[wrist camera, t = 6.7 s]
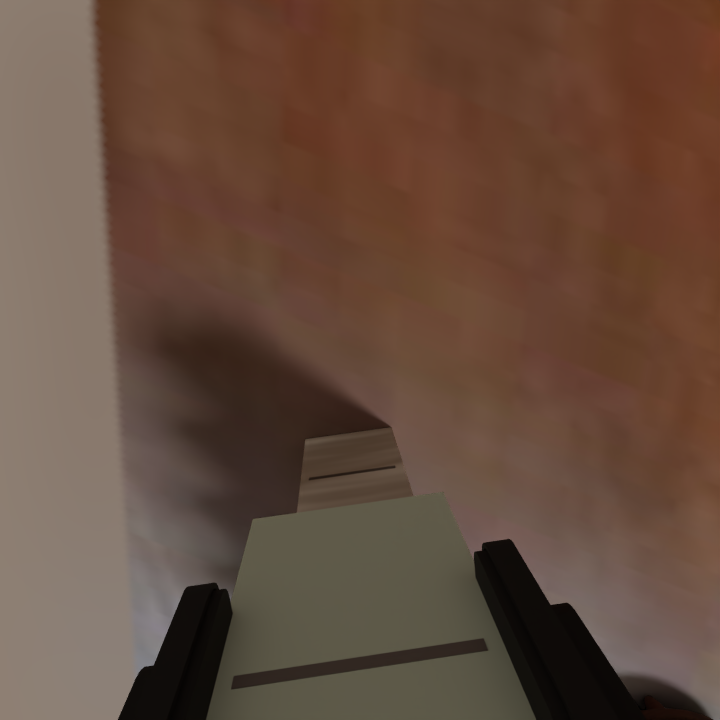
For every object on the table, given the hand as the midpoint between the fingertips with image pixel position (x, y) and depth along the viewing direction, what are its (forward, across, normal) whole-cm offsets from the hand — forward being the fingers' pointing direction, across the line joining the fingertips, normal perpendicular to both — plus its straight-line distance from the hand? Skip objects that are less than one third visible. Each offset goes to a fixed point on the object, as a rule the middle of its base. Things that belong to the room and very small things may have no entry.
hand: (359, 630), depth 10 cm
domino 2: (+19, 0, +4) cm, 19 cm away
